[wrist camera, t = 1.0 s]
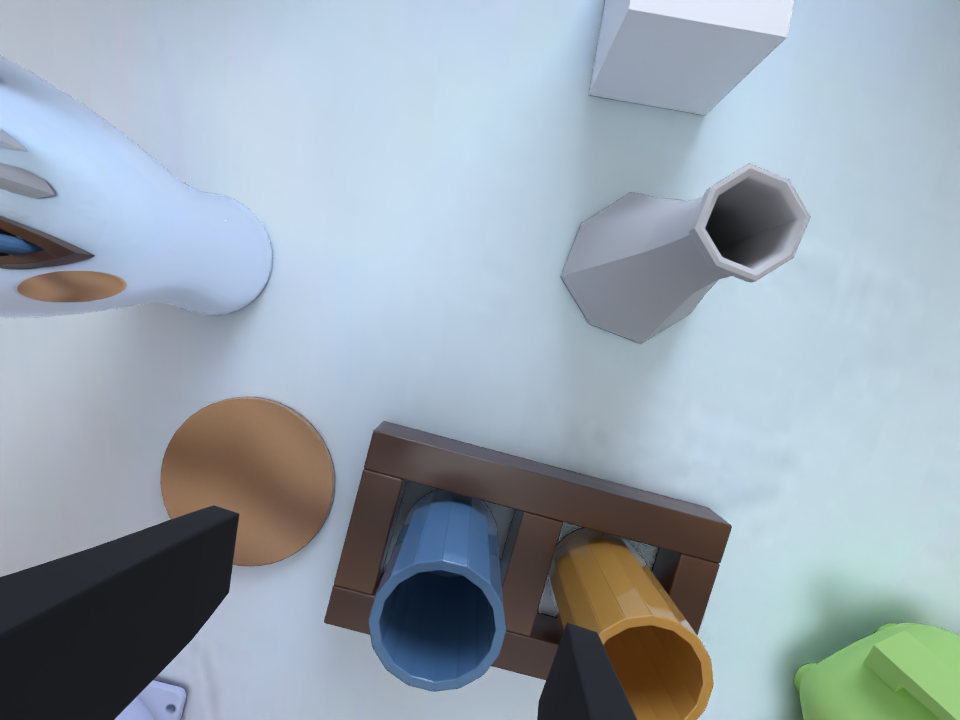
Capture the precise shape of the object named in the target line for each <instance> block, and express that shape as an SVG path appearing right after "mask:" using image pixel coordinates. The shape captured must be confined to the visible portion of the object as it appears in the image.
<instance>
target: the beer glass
mask: <svg viewBox="0 0 960 720" xmlns="http://www.w3.org/2000/svg"><path fill="white" fill-rule="evenodd" d="M271 267H272V248H271V243H270V239H269V236H268V234H267V232H266V229H265V228H264V226H263V224H262V223H261V221H260V220H259V219H258V217H257V216H256V215H255V214H254V213H253V212H252V211H251V210H250V209H249V208H247V207H246V206H245V205H243V204H242V203H240V202H238V201H236V200H234V199H232V198H230V197H227V196H223V195H219V194H213V193H208V192H203V191H200V190H197V189H195V188H192V187H190V186H189V185H187V184H186V183H184V182H182V181H181V180H180V179H179V178H177V177H176V176H175V175H174V174H172V173H171V172H170V171H169V170H168V169H166V168H165V167H164V166H163V165H162V164H160V163H159V162H158V161H157V160H156V159H155V158H153V157H152V156H151V155H150V154H149V153H147V152H146V151H145V150H144V149H142V148H141V147H140V146H139V145H138V144H136V143H135V142H134V141H133V140H131V139H130V138H129V137H128V136H127V135H125V134H124V133H123V132H121V131H120V130H119V129H117V128H116V127H115V126H113V125H112V124H111V123H109V122H108V121H107V120H105V119H104V118H103V117H101V116H100V115H98V114H97V113H96V112H94V111H93V110H92V109H90V108H89V107H88V106H86V105H85V104H83V103H82V102H80V101H79V100H77V99H75V98H74V97H72V96H71V95H69V94H67V93H66V92H64V91H62V90H61V89H59V88H58V87H56V86H54V85H53V84H51V83H49V82H48V81H46V80H45V79H43V78H41V77H40V76H38V75H36V74H35V73H33V72H31V71H30V70H28V69H26V68H24V67H22V66H21V65H19V64H17V63H15V62H13V61H11V60H10V59H8V58H6V57H4V56H2V55H0V318H40V317H51V316H62V315H73V314H84V313H91V312H98V311H104V310H111V309H118V308H124V307H130V306H136V305H143V304H151V303H167V304H171V305H174V306H177V307H180V308H183V309H186V310H188V311H192V312H195V313H199V314H205V315H223V314H228V313H231V312H234V311H237V310H239V309H241V308H243V307H245V306H247V305H248V304H250V303H251V302H252V301H253V300H254V299H255V298H256V297H257V296H258V295H259V294H260V293H261V291H262V290H263V288H264V287H265V285H266V283H267V281H268V278H269V275H270V272H271Z"/></svg>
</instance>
